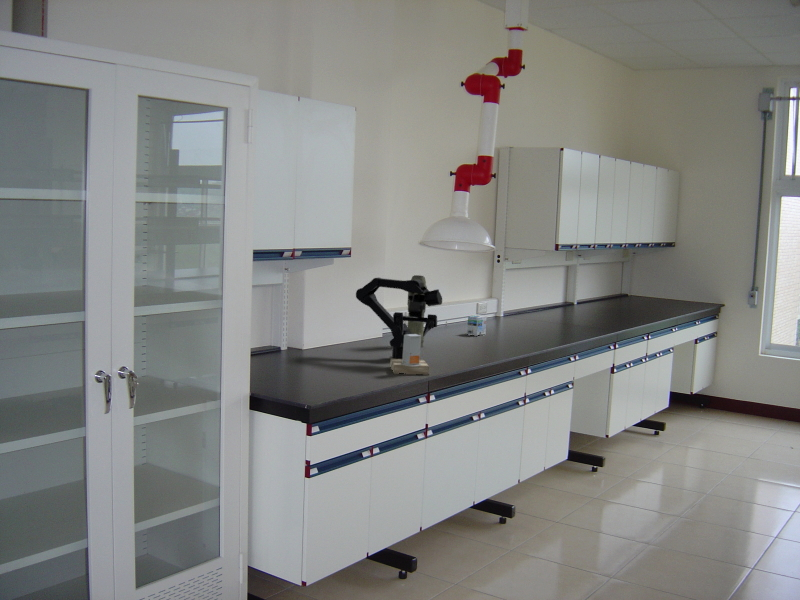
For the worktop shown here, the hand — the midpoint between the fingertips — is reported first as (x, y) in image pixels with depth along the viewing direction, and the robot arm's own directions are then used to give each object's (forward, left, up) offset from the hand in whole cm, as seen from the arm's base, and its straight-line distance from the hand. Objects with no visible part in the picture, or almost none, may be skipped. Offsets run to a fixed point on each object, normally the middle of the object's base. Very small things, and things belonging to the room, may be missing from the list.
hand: (412, 335), depth 316 cm
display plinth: (+8, -2, -14) cm, 16 cm away
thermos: (-52, +10, -14) cm, 54 cm away
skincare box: (+12, -2, -10) cm, 16 cm away
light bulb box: (-95, +52, -14) cm, 109 cm away
